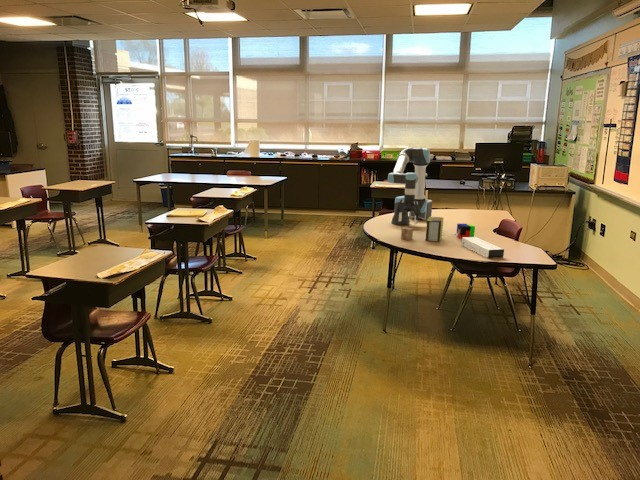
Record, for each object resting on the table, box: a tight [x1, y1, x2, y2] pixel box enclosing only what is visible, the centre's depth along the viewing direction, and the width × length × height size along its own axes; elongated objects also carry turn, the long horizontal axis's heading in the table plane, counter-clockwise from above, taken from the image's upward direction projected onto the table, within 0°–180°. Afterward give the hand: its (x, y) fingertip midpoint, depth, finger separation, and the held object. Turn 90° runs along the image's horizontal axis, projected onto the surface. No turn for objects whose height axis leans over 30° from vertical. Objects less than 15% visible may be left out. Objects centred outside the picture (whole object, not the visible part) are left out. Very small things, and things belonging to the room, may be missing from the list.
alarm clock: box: [408, 198, 433, 222], centre depth 443 cm, size 18×13×18 cm
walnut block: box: [400, 226, 414, 241], centre depth 370 cm, size 6×6×8 cm
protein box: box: [425, 216, 444, 243], centre depth 371 cm, size 10×15×16 cm
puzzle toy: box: [455, 223, 476, 240], centre depth 378 cm, size 10×10×10 cm
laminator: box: [461, 236, 505, 259], centre depth 341 cm, size 34×12×6 cm, turn 15°
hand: (407, 222), depth 368 cm, fingers open, 13 cm apart
